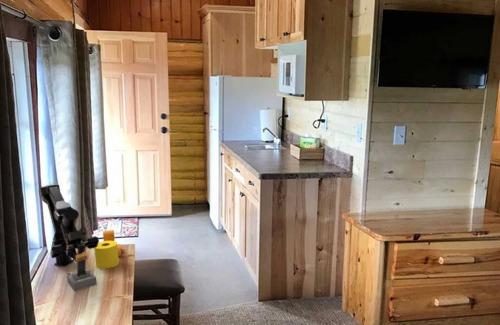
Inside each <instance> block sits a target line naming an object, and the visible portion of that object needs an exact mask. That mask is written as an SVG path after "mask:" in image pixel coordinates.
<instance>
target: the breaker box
mask: <svg viewBox="0 0 500 325" xmlns="http://www.w3.org/2000/svg"><path fill="white" fill-rule="evenodd" d="M70 274H71V275H66V277H67V278H66V279H67V283H68V285H69V286H70V287H71V289H72V290H73V291H74V292H76V291H80V290H83V289H86V288H90V287H94V286H97V285H98V282H97V277H96V275H94V273H93V272H92V271H91V269H90V268H85V275H83V276H79V277H78V276H77V271H76V272H75V271H74V272H72V273H70Z"/></svg>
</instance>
